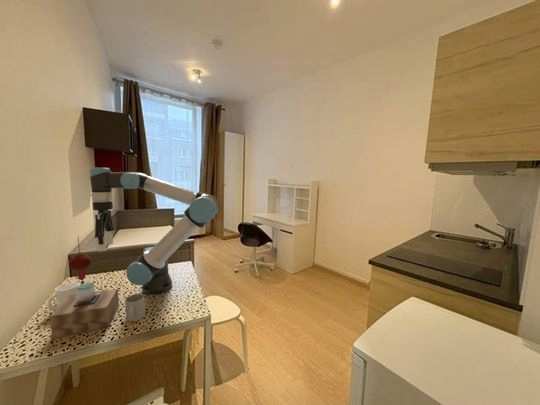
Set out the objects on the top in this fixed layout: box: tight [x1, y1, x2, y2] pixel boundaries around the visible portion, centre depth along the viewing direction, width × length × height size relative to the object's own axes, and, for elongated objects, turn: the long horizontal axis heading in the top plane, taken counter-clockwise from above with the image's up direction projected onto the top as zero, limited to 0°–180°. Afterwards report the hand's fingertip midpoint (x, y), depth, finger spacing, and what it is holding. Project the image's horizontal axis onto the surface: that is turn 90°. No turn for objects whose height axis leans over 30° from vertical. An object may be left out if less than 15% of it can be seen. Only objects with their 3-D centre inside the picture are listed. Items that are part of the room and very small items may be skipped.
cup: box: [124, 293, 146, 323], centre depth 97 cm, size 7×10×9 cm
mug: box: [46, 281, 80, 311], centre depth 104 cm, size 12×8×10 cm
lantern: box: [68, 237, 93, 285], centre depth 121 cm, size 10×10×30 cm
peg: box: [78, 281, 96, 303], centre depth 95 cm, size 4×4×9 cm
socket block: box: [49, 288, 120, 339], centre depth 96 cm, size 18×16×10 cm
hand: (106, 247), depth 107 cm, fingers open, 10 cm apart
